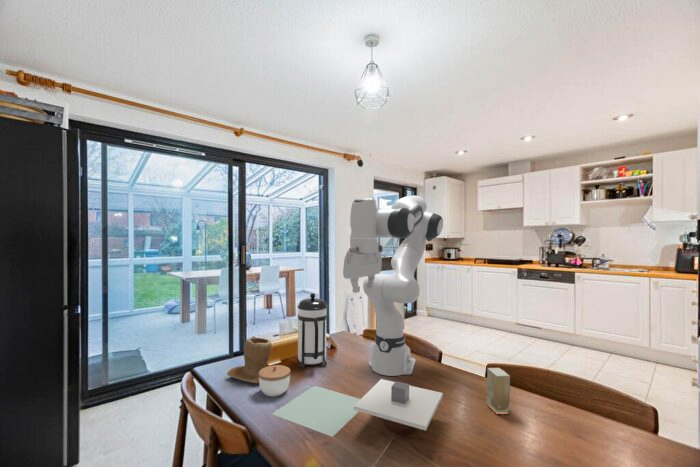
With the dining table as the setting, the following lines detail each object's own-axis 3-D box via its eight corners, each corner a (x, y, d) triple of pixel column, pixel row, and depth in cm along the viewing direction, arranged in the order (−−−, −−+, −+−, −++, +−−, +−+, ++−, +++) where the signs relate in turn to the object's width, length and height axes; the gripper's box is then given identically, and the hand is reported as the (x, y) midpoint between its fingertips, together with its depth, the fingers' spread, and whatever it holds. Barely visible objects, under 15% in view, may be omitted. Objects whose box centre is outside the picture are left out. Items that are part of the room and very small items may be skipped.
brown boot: (277, 376, 126) (278, 337, 126) (255, 388, 115) (256, 346, 115) (249, 368, 133) (249, 332, 133) (225, 379, 122) (226, 339, 123)
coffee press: (285, 365, 136) (286, 294, 137) (310, 354, 150) (311, 289, 150) (316, 375, 126) (317, 298, 127) (340, 363, 140) (341, 293, 140)
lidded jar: (282, 403, 105) (283, 374, 106) (252, 399, 108) (252, 371, 108) (294, 388, 116) (295, 361, 116) (266, 385, 118) (267, 359, 118)
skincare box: (486, 405, 105) (486, 367, 105) (499, 404, 106) (499, 367, 106) (496, 415, 99) (496, 375, 99) (510, 415, 99) (510, 375, 99)
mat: (314, 387, 117) (314, 385, 117) (369, 402, 106) (369, 401, 106) (271, 415, 98) (271, 414, 98) (332, 438, 87) (332, 436, 87)
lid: (381, 382, 107) (381, 366, 107) (442, 396, 98) (442, 379, 98) (353, 409, 89) (353, 391, 89) (425, 430, 80) (426, 410, 80)
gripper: (356, 248, 94) (356, 296, 94) (385, 247, 112) (384, 287, 111) (338, 247, 97) (337, 294, 97) (368, 246, 115) (368, 285, 115)
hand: (363, 290), depth 104 cm, fingers open, 8 cm apart
